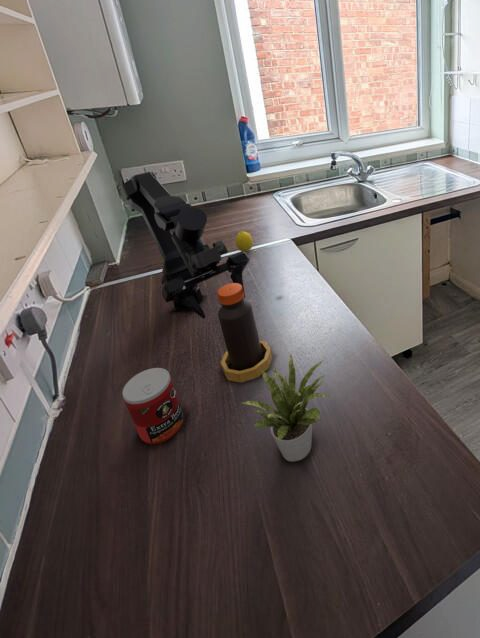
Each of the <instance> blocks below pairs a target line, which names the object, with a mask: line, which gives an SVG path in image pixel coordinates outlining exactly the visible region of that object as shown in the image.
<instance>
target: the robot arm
mask: <svg viewBox="0 0 480 638" xmlns="http://www.w3.org/2000/svg"><path fill="white" fill-rule="evenodd" d="M120 186H121V187H120V192H121V195H122V197H123V199H124V201H127V202H128V204H129V206H130V207H131V208H132V209H133V210H135V211H137V212H139V213H140V214H141V215H142V217H143V219H144V222H145V223H146V226H147V228H148V231H149V232H150V234H151V236H152V238H153V240H154V242H155V244H156V247H157V248H158V251H159V252H160V254H161V257H162V259H163V265H162V269H161V272H162V278H161V286H162V287H161V295H162V298H163V300H164V302H165V303H170V302H172V304H173V306H172V308H171V312H188V311H193V312H194V313H195V314H197V315H198V316H199V317H200V318H202V319H203V320H204V319H206V316H207V315H206V314H205V312H204V310H203V308H202V307H201V305H200V304H201V302H202V300H203V299H204V295H203V294H202V291H201V287H199V285H198V284H200V283H203V282H205V281H207V280H210V279H212V278H215V277H216V276H219V275H221V274H223V273H226V272H228V273H230V276H229V278H230V280H231V281H232V283H238V284H241V285H242V288H243V292H244V299H245V298H246V294H245V286H244V280H243V272H244V270H245V269H246V268H247V266H248V265H249V264H248V263H249V262H250V260H251V258H250V256H249V255H248V252H243V251H239V252H236V253H234V254H231V255H229V256H227V259H226V261H225V262H224V263H222V264H220V263H221V262H220V261H222V260H223V258H222V256H223V255H225V254H228V252H229V251H228V248H227V246H226V244H225V243H224V241H223V239H220V240H218V241H215V242H213V243H212V247H210V245H209V244H208V243H206V241H205V240H204V238H203V234H204V232H205V229H206V224H207V221H208V219H207V214H206V212H204V211H203V210H201V209H200V208H199V207H198V208H197V207H194V206H193V205H192V204H191V203H189V202H187V201H186V200H185V199H184V198H183V197H180V196H175V195H172V194H171V193H170V192H169V191H168V189H166V188H165V187H164V186H163V185H162V184H161V182H160V181H159V180H158V177H157V176H156V175H155V173H154V171H146V172H142V173H138V174H135V175H133V176H131V177H130V179H129V180H127V181H125V182H123V183H122V184H121V185H120ZM171 230H173V232H172V231H171ZM218 264H219V265H218Z"/></svg>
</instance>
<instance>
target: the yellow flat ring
mask: <svg viewBox="0 0 480 638" xmlns="http://www.w3.org/2000/svg"><path fill="white" fill-rule="evenodd" d="M259 341H260V346H261V350H262V353H263V352H264V356H263V360H262V361H261V362H259V363H258V364H257V365H256V366H254V367H252V368H249V369H245V370H242V371H237V370H233V369H232V368H229V367H230V365H231V362H230V358H229V355H228V351H227V350H226V351H225V352H224V354H223V357H222V359H221V361H220V366H221V369H222V372H223V374H224V376H225V377H226V380H228V381H230V382H237V383H241V384H242V383H245V382H248V381H251V380H256V379H257V378H259V377H260V376H262V373H261V371H263V372H266V371H267V370H269V368H270V366H271V363H272V359H273V353H272V349H271V347H270V346H269V345H268V343H267V342H266V341H264V340H260V339H259Z"/></svg>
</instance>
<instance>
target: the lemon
mask: <svg viewBox="0 0 480 638" xmlns="http://www.w3.org/2000/svg"><path fill="white" fill-rule="evenodd" d="M253 241H254V240H253V237H252V235H251V234H250V233H249V232H248V231H243V230H241V231H240V232H239V233H238V234H236V236H235V246H236V248H237V249H238V250H239V252H241V251H243V252H245V253H248V252H249V251H250V250H251V249H252V247H253V243H254V242H253Z"/></svg>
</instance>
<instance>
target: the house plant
mask: <svg viewBox="0 0 480 638" xmlns="http://www.w3.org/2000/svg"><path fill="white" fill-rule="evenodd" d="M324 361H325V360H321V361H319V362H317V363H316V364H314V365H313V366H311V368H310V369H309V370H307V372H306V374H305V375H304V376H303V378H302V380H301V381H300V383H299V387H298V391H297V393H296V383H297V382H296V367H295V365H294V358H293V355H292V353H290V354H289V359H288V377H287V375H284V378H283V376H281V374H280V373H279V372H278V371H277V368H276V367H275V369H273V368H271V369H272V372H273V377H271V376H270V375H269V374H268V373H267V372H266V371H265V372H263V371H261V373H262V374H261V376H262V379H264V382H265V384H266V386H267V388H268V389H269V393H270V395H271V399H272V403H273V405H274V407H275V408H276V409H275V408H273V407H272V406H270V405H269V404H267V403H265V402H263V401H260V400H246V401H244V402H240V404H241V405H249V406H254V407H256V408H258V409H255V408H254V409H253V410H254V411H255V412H256V413H258V414H259V415H260V416H261V417H262V418H263V419H260V420H259V421H257V422H256V423H255V424H254V425H253V427H256V428H270V434H271V435H272V438H273V441H275V443H276V446H277V447H278V449H279V451H280V453H281V455H282V457H283V459H285V460H286V461H288V462H290V463H291V462H298V461H301V460H303V459H305V458H306V457H307V456H308V455H309V453H310V452H311V449H312V444H313V443H312V442H313V441H312V440H313V425H316V426H318V423H317V421H316V420H317V419H318V420H321V412H320V410H319V408H317V407H312V408H307V407H308V406H307V405H308V404H309V401H311V400H314V399H316V398H330V396H329V395H327V394H324V393H319V392H316V391H317V389H318V388H319V387H320V386H321V385H322V384H323V383H324V382H325V381H324V380H323V381H321V382H319V381H320V380H321V379H323V378H324V377H325V375H322V376H319V377H318V378H316V379H315V380H314V381H313V382H312V383H311V384H310V385H307V383H308V381H309V379H310V378H311V377H312V375H313V373H314V372H315V370H316V369H317V368H318V367H319V366H321V364H322V363H323V362H324ZM276 377H277V378H278V380H279V382H280V384H279V383H277V381H276ZM259 408H260V409H262V410H260V409H259ZM263 410H264V411H266V412H268V413H269V414H267V413H266V412H264V411H263Z"/></svg>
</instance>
